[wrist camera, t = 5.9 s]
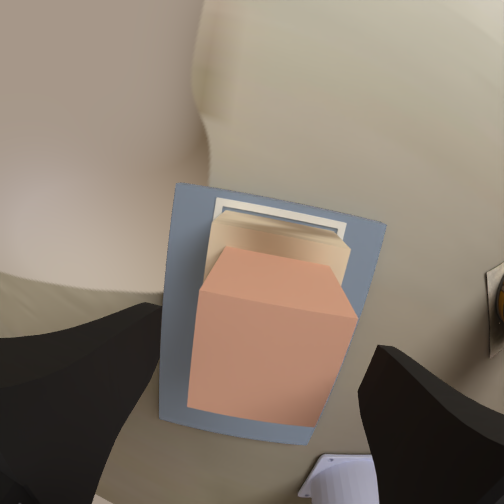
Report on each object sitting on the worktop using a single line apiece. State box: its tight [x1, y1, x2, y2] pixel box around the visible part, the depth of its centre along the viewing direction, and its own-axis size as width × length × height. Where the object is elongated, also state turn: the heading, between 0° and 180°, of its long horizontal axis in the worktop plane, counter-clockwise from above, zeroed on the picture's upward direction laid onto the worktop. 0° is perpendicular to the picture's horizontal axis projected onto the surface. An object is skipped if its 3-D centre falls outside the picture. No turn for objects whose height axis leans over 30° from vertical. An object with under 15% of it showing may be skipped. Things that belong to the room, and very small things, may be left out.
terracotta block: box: [187, 246, 358, 427], centre depth 11 cm, size 4×4×5 cm
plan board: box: [159, 183, 387, 445], centre depth 19 cm, size 12×18×1 cm, turn 170°
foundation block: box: [203, 210, 351, 286], centre depth 16 cm, size 6×6×4 cm
